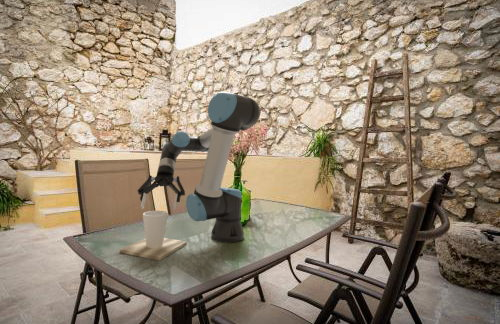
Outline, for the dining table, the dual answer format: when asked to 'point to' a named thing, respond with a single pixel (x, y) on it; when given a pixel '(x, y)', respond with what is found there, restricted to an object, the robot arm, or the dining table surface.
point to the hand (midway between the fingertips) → (158, 207)
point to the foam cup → (155, 227)
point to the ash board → (153, 249)
